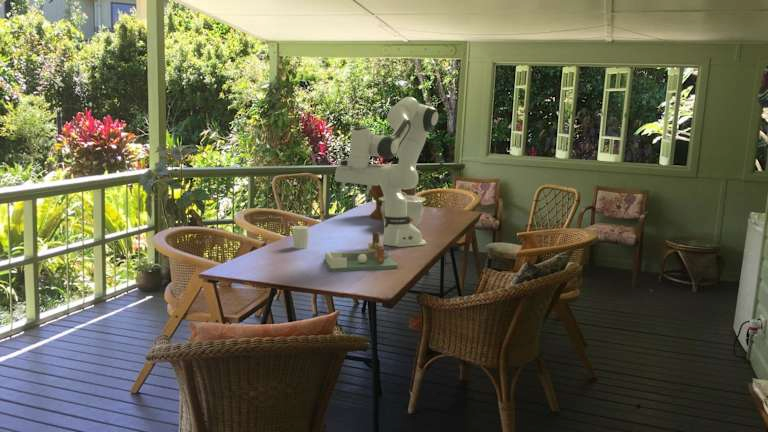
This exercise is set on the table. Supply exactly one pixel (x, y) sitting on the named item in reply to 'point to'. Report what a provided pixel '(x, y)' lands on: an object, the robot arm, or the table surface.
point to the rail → (355, 254)
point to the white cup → (300, 236)
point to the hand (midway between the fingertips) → (356, 193)
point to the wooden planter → (377, 193)
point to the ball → (362, 258)
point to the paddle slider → (377, 247)
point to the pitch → (355, 263)
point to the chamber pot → (409, 207)
